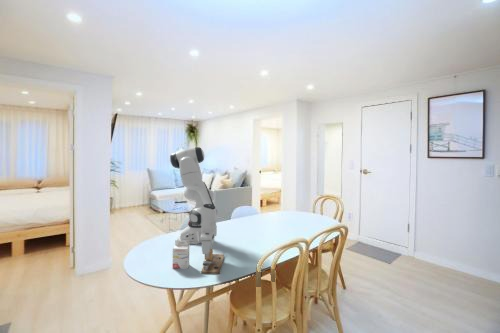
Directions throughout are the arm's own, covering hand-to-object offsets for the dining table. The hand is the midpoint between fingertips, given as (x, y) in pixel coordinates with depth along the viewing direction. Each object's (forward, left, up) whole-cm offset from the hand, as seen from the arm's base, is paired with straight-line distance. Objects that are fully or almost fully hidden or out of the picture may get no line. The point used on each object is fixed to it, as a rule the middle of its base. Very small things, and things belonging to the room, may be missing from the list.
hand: (208, 255), depth 145 cm
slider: (+2, 0, -4) cm, 4 cm away
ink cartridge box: (-15, -5, -5) cm, 16 cm away
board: (+3, -1, -5) cm, 6 cm away
